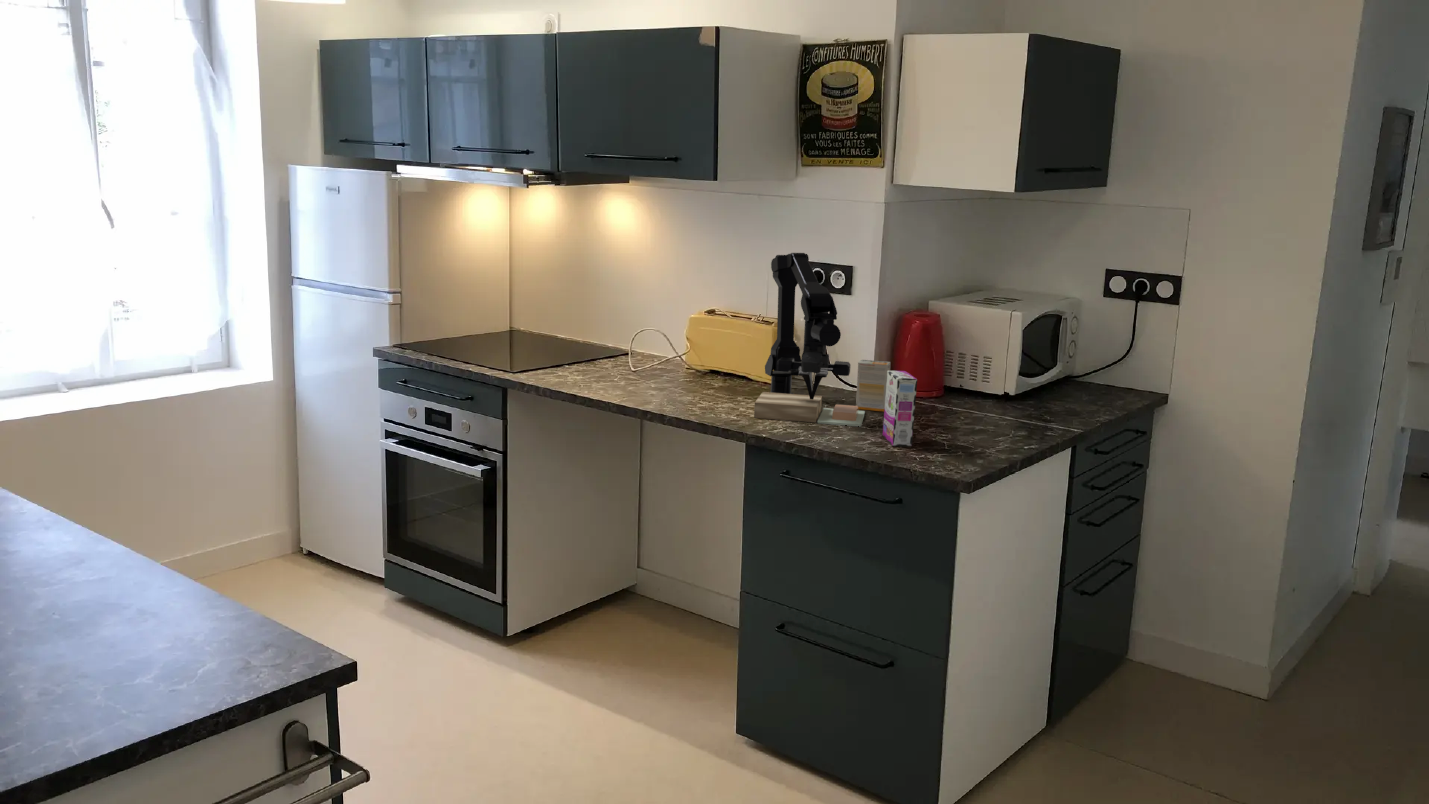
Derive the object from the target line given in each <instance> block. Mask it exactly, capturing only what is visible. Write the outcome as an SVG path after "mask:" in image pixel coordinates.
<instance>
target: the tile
mask: <svg viewBox="0 0 1429 804" xmlns="http://www.w3.org/2000/svg"><path fill="white" fill-rule="evenodd" d="M832 409H833V414H832V419H836V420H849V421H856V418H857V415H858V411H859V409H858V406H856V405H848V404H835V406H834V407H833V408H832Z"/></svg>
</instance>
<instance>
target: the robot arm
mask: <svg viewBox="0 0 1429 804" xmlns="http://www.w3.org/2000/svg"><path fill="white" fill-rule="evenodd" d="M809 259H810V257H809V255H808V253H805V252H791V253H788V254H776V256H775V257H774V258H772V259H771V262H770V269H771V272H772V279H773V280H774V282H775V283H776V285H777V287H778V289H777V291H778V293H777V320H776V321H777V323H776V326H777V327H776V328H777V329H776V331H777V332H776V340H775V341H774V343H773V344H772V346H771V347H770V355H769V357H768V359H767V361H766V363H765V365H764V373H765V374H766V375H767V376H769V377H771V379H770V381H771V382H770V392H771V393H784V394H794V392H792V379H793V377H792V376H795V377H797V376H798V377H799V376H800V377H802V379H803V380H804V383H805V387H806V389H807V392H808V393H807V394H808V395H809V397H810V399H814V396H816V392H817V390H818V389H819V385H820V384H821V381H822V379H823V378H827V377H828V374H829V372H833V373H834V375H836V376H840V377H841V376H843V377H849V376H850V374H851V363H850V362H849V361H843V360H842V361H839V360H835V361H834V364H833V363H830V354H829V353H828V354H826V353H827V352H826V348H827V347H833V346H835V345H838V343H839V341H840V340H841V335H842V333H841V329H840V328H839V326H838V325H836V324H835V320H837V319H838V318H837V317H838V316H837V315H838V311H837V307H836V305H835V301H834V298H833V297H834V296H832V294H831V292H830V291H829V290H828V288H827V287H825V286H823V285H822V284H820V282H819V281H818V278H817V276H816V275H815V273H814V270H813V268H812V266H811V264H810V262H809ZM797 285H798V287H799V289H800V291H801V294H802V295H801V298H800V307H801V310H802V312H803V315H804V317H803V320H804V335H803V352H802V354H801V348H800V346H798V345H797V343H796V341H795V316H796V315H795V309H796V308H795V307H796V288H797ZM812 373H813V374H815V375H814V381H813V375H812Z"/></svg>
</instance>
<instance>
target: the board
mask: <svg viewBox="0 0 1429 804" xmlns="http://www.w3.org/2000/svg"><path fill="white" fill-rule="evenodd" d="M822 405H823V396H822V395H815V396H814V399H810V397H809V394H795V393H793V394H784V393H771V391H770V392H769V391H768V392H767V391H762V392H761V394H760V395H759V396H758V397H757V399H756V400H755V401H754V407H753V408H754V410H753V411H754V412H753V418H754V419H756V418H757V419H767V420H769V419H770V420H781V421H790V422H791V421H793V422H803V423H804V422H805V423H807V422H808V423H817V422H818V419H819V417H820V415H821V413H822V410H823V408H822Z"/></svg>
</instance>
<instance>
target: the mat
mask: <svg viewBox="0 0 1429 804" xmlns="http://www.w3.org/2000/svg"><path fill="white" fill-rule="evenodd" d="M833 409H834V408H827V407H826V408H825V407H823V408H822V410H821V413H820V415H819V417H818V419H817V424H819V425H821V424H823V425H831V426H832V425H833V426H845V425H847V426H848V427H858V426H859V427H860V428H861V427H862V426H863V425H862V424H863V420H864V418H865V413H866V410H858V415H857V418H856V421H849V420H836V419H832V414H833ZM847 426H846V427H847Z"/></svg>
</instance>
